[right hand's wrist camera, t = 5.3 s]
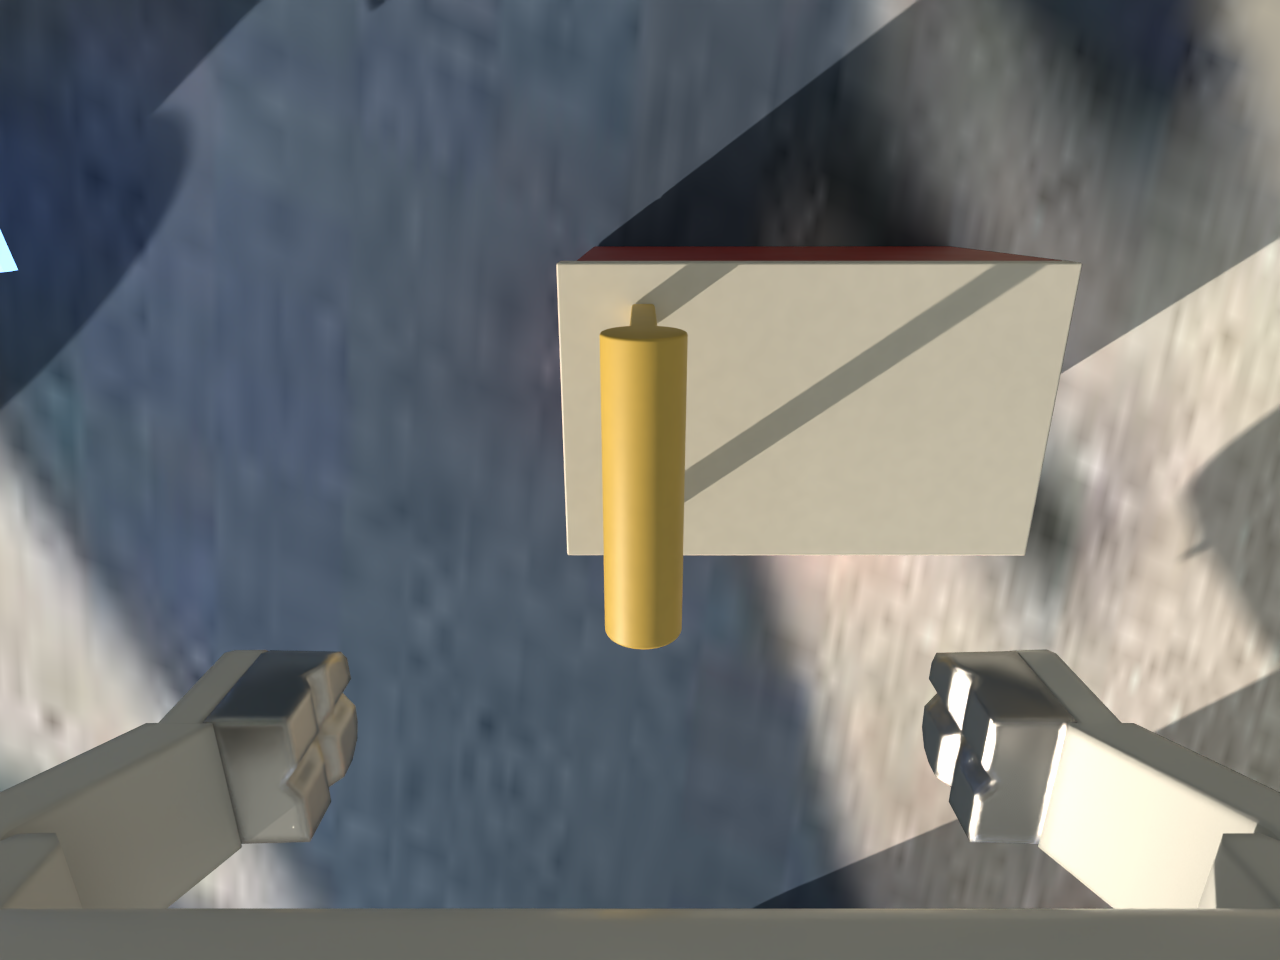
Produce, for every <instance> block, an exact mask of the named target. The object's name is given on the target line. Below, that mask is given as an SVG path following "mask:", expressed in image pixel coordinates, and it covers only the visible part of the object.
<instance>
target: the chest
mask: <svg viewBox="0 0 1280 960" xmlns="http://www.w3.org/2000/svg"><path fill="white" fill-rule="evenodd" d="M577 261H1062V260H1055V259H1047V258H1039V257H1031V256H1023V255H1015V254H1007V253H999V252H991V251H983V250H975V249H967V248H959V247H950V246H821V247H593V248H592V249H591V250H590V251H588V252H587V253H586V254H585V255H583V256H582V257H581V258H580V259H578V260H577Z"/></svg>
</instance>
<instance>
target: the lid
mask: <svg viewBox="0 0 1280 960" xmlns="http://www.w3.org/2000/svg"><path fill="white" fill-rule="evenodd" d="M556 266H557V292H558V318H559V345H560V371H561V397H562V424H563V450H564V476H565V503H566V529H567V553H568V555H604V594H605V630H606V633H607V635H608V636H609V638H610V639H611V640H613V641H614V642H615V643H617V644H619V645H622V646H625V647H628V648H634V649H653V648H659V647H662V646H665V645H668V644H670V643H671V642H673V641H674V640H675V639H677V637H678V636H679V634H680V632H681V629H682V583H683V555H1025V552H1026V547H1027V542H1028V537H1029V532H1030V526H1031V521H1032V516H1033V511H1034V506H1035V501H1036V496H1037V491H1038V486H1039V481H1040V476H1041V471H1042V466H1043V461H1044V456H1045V450H1046V445H1047V440H1048V435H1049V430H1050V425H1051V420H1052V415H1053V410H1054V405H1055V400H1056V395H1057V390H1058V385H1059V379H1060V374H1061V369H1062V364H1063V359H1064V354H1065V349H1066V344H1067V339H1068V334H1069V329H1070V324H1071V319H1072V314H1073V309H1074V303H1075V298H1076V293H1077V288H1078V283H1079V278H1080V273H1081V268H1082V263H1080V262H1072V261H560V262H558V263H557V265H556Z"/></svg>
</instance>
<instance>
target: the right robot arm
mask: <svg viewBox="0 0 1280 960" xmlns="http://www.w3.org/2000/svg"><path fill="white" fill-rule="evenodd" d="M15 270H18V269H17V267H16V264H15V262H14V260H13V258H12V255H11V253H10V251H9V249H8V246H7V244H6V242H5V240H4V237H3V235H2V233H1V230H0V272H8V271H15ZM350 680H351V676H350V671H349V666H348V661H347V658H346V657H345V656H344V655H343V654H342V653H341V652H330V651H281V650H270V651H267V650H234V651H230V652H226V653H224V654H223V655H222V656H221V657H220V658H219V660H218V661H217V662H216V663H215V664H214V665H213V666H212V667H211V668H210V669H209V670H208V671H207V672H206V673H205V674H204V675H203V676H202V677H201V679H200V680H199V681H198V682H197V683H196V684H195V685H194V686H193V687H192V688H191V689H190V690H189V691H188V692H187V693H186V694H185V695H184V696H183V698H182V699H181V700H180V701H179V702H178V703H177V704H176V705H175V706H174V707H173V708H172V709H171V710H170V711H169V712H168V713H167V714H166V715H165V717H164V718H163V719H162V720H161V721H160V722H159V723H146V724H143V725H141V726H139V727H137V728H135V729H133V730H131V731H129V732H127V733H124V734H122V735H120V736H118V737H116V738H114V739H112V740H110V741H108V742H105V743H103V744H101V745H99V746H97V747H95V748H93V749H91V750H89V751H87V752H84V753H82V754H80V755H78V756H76V757H74V758H72V759H70V760H68V761H65V762H63V763H61V764H59V765H57V766H55V767H53V768H51V769H49V770H46V771H44V772H42V773H40V774H38V775H36V776H34V777H32V778H30V779H27V780H25V781H23V782H21V783H19V784H17V785H15V786H13V787H11V788H8V789H6V790H4V791H2V792H0V960H1280V792H1277V791H1275V790H1273V789H1271V788H1269V787H1267V786H1265V785H1263V784H1261V783H1259V782H1256V781H1254V780H1252V779H1250V778H1248V777H1246V776H1244V775H1242V774H1240V773H1238V772H1235V771H1233V770H1231V769H1229V768H1227V767H1225V766H1223V765H1221V764H1219V763H1216V762H1214V761H1212V760H1210V759H1208V758H1206V757H1204V756H1202V755H1200V754H1198V753H1195V752H1193V751H1191V750H1189V749H1187V748H1185V747H1183V746H1181V745H1179V744H1177V743H1174V742H1172V741H1170V740H1168V739H1166V738H1164V737H1162V736H1160V735H1158V734H1155V733H1153V732H1151V731H1149V730H1147V729H1145V728H1143V727H1141V726H1139V725H1137V724H1134V723H1121V722H1120V721H1119V720H1118V719H1117V718H1116V716H1115V715H1114V714H1113V713H1112V712H1111V711H1110V710H1109V709H1108V708H1107V707H1106V706H1105V705H1104V704H1103V703H1102V702H1101V701H1100V700H1099V698H1098V697H1097V696H1096V695H1095V694H1094V693H1093V692H1092V691H1091V690H1090V689H1089V688H1088V687H1087V686H1086V685H1085V684H1084V683H1083V682H1082V681H1081V679H1080V678H1079V677H1078V676H1077V675H1076V674H1075V673H1074V672H1073V671H1072V670H1071V669H1070V668H1069V667H1068V666H1067V665H1066V664H1065V663H1064V661H1063V660H1062V659H1061V658H1060V657H1059V656H1058V655H1057V654H1056V653H1053V652H1051V651H1049V650H1020V651H1000V652H955V653H936V655H935V657H934V659H933V661H932V664H931V670H930V676H929V680H930V681H931V683H932V685H933V686H934V688H935V690H936V691H937V694H936V695H935V696H934V697H933V698H932V699H931V700H930V701H929V702H928V703H927V704H926V705H925V707H924V716H923V724H922V730H923V741H924V749H925V752H926V755H927V759H928V762H929V764H930V766H931V768H932V770H933V772H934V774H935V776H936V777H937V778H939V779H940V780H942V781H943V782H945V783H946V784H947V785H949V786H950V787H951V792H950V798H949V803H950V805H951V807H952V809H953V810H954V812H955V814H956V816H957V818H958V820H959V822H960V824H961V826H962V827H963V829H964V831H965V833H966V835H967V837H968V839H969V841H970V842H995V843H1031V844H1039V845H1038V847H1039V848H1040V849H1041V850H1043V851H1044V852H1045V853H1046V854H1047V855H1049V856H1050V857H1051V858H1052V859H1054V860H1055V861H1056V862H1057V863H1058V864H1060V865H1061V866H1062V867H1063V868H1065V869H1066V870H1067V871H1068V872H1070V873H1071V874H1072V875H1073V876H1074V877H1076V878H1077V879H1078V880H1079V881H1081V882H1082V883H1083V884H1084V885H1085V886H1087V887H1088V888H1089V889H1090V890H1092V891H1093V892H1094V893H1095V894H1096V895H1098V896H1099V897H1100V898H1101V899H1103V900H1104V901H1105V902H1106V903H1107V904H1109V905H1110V906H1111V907H1112V908H1114V909H167V908H168V907H169V906H170V905H172V904H173V903H174V902H175V901H176V900H178V899H179V898H180V897H181V896H183V895H184V894H185V893H186V892H187V891H189V890H190V889H191V888H192V887H194V886H195V885H196V884H197V883H199V882H200V881H201V880H202V879H203V878H205V877H206V876H207V875H208V874H210V873H211V872H212V871H213V870H214V869H216V868H217V867H218V866H219V865H221V864H222V863H223V862H224V861H226V860H227V859H228V858H229V857H230V856H232V855H233V854H234V853H235V852H237V851H238V850H239V849H240V848H241V847H242V845H241V844H249V843H283V842H310V841H311V839H312V837H313V835H314V833H315V831H316V829H317V828H318V826H319V824H320V822H321V820H322V818H323V816H324V814H325V812H326V811H327V809H328V807H329V805H330V803H331V798H330V792H329V787H330V786H331V785H333V784H334V783H335V782H337V781H338V780H340V779H341V778H343V777H344V776H345V774H346V772H347V770H348V768H349V766H350V764H351V762H352V759H353V755H354V751H355V746H356V742H357V724H358V721H357V714H356V707H355V705H354V704H353V703H352V702H351V701H350V700H349V699H348V698H347V697H346V696H345V695H344V694H343V691H344V690H345V688H346V686H347V685H348V683H349V681H350Z"/></svg>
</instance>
